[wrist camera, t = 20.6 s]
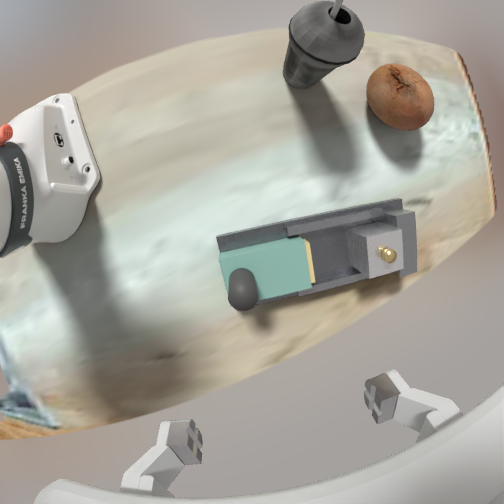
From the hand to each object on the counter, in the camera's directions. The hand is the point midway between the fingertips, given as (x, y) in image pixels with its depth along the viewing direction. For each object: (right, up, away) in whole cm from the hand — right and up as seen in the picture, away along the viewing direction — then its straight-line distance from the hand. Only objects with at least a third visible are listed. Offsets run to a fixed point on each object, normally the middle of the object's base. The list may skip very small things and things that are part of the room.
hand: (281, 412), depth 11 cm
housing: (+14, +8, +24) cm, 29 cm away
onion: (+18, +28, +21) cm, 39 cm away
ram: (+1, +5, +24) cm, 25 cm away
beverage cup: (+5, +31, +19) cm, 36 cm away
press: (+8, +7, +25) cm, 27 cm away
